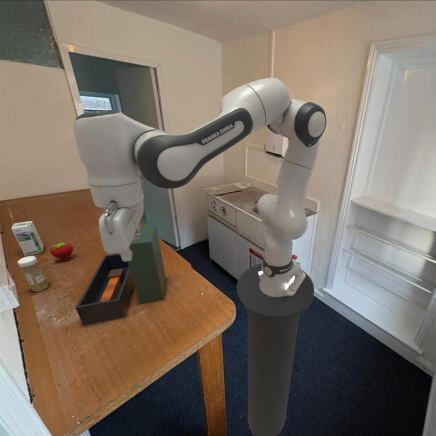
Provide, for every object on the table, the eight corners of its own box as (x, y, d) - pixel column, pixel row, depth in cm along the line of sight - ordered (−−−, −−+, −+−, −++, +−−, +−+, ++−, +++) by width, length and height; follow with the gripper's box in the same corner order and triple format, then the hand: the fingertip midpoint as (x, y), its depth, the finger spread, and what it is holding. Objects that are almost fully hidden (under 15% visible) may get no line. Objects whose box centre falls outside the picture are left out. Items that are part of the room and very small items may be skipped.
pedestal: (163, 299, 89) (151, 241, 78) (139, 303, 86) (123, 244, 75) (166, 279, 99) (155, 225, 88) (144, 282, 96) (131, 227, 85)
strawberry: (78, 259, 106) (71, 240, 101) (55, 266, 101) (46, 246, 96) (75, 253, 109) (68, 235, 105) (53, 259, 104) (45, 240, 100)
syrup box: (24, 256, 104) (10, 228, 98) (27, 250, 109) (14, 222, 102) (42, 253, 108) (29, 225, 101) (44, 246, 112) (32, 220, 106)
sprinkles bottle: (49, 288, 89) (36, 259, 84) (32, 293, 86) (17, 264, 80) (48, 282, 92) (35, 254, 86) (31, 287, 89) (16, 258, 83)
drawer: (124, 316, 81) (119, 300, 77) (82, 325, 76) (75, 307, 73) (140, 265, 105) (136, 251, 102) (109, 270, 101) (104, 255, 98)
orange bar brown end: (111, 312, 81) (108, 304, 79) (95, 315, 79) (92, 307, 77) (125, 276, 97) (123, 268, 96) (113, 277, 96) (110, 270, 94)
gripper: (124, 212, 42) (139, 272, 48) (143, 179, 59) (153, 227, 65) (80, 214, 40) (102, 278, 46) (113, 179, 57) (126, 229, 63)
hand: (132, 247), depth 55 cm, fingers open, 8 cm apart
